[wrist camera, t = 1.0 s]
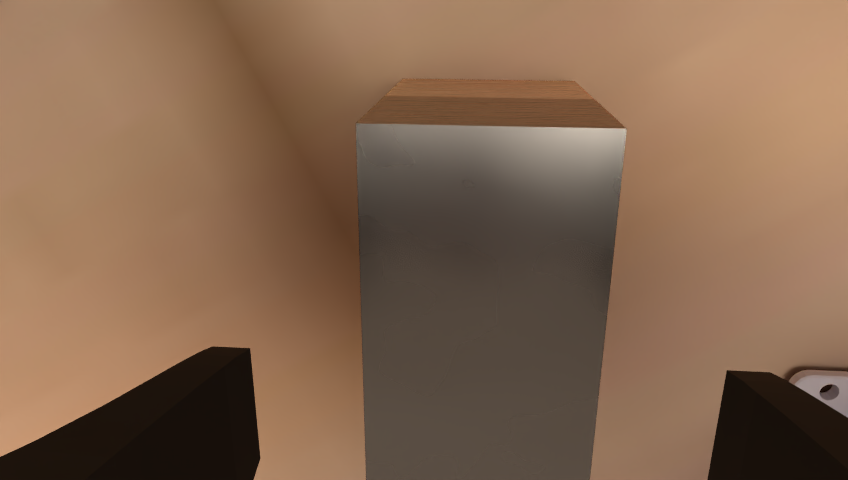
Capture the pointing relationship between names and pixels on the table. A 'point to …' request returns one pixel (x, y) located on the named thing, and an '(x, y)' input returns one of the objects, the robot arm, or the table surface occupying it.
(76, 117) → the table surface
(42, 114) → the table surface
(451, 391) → the housing
